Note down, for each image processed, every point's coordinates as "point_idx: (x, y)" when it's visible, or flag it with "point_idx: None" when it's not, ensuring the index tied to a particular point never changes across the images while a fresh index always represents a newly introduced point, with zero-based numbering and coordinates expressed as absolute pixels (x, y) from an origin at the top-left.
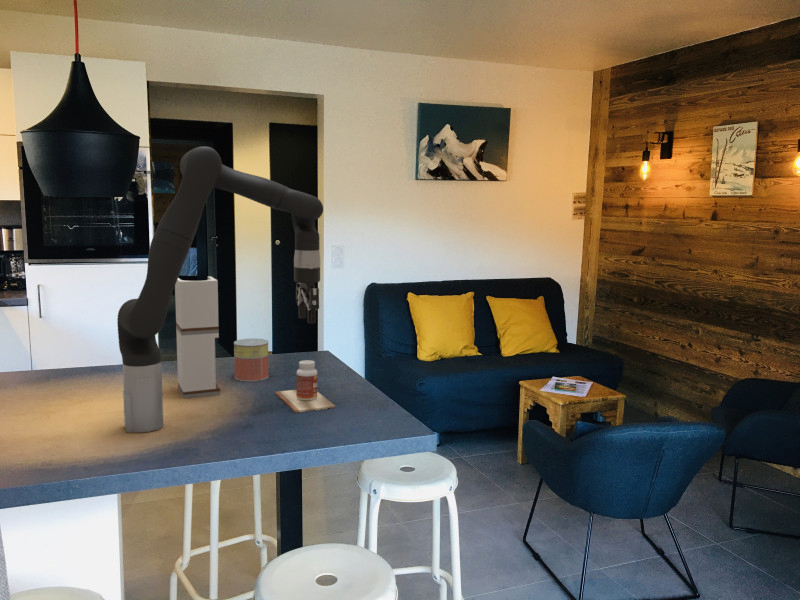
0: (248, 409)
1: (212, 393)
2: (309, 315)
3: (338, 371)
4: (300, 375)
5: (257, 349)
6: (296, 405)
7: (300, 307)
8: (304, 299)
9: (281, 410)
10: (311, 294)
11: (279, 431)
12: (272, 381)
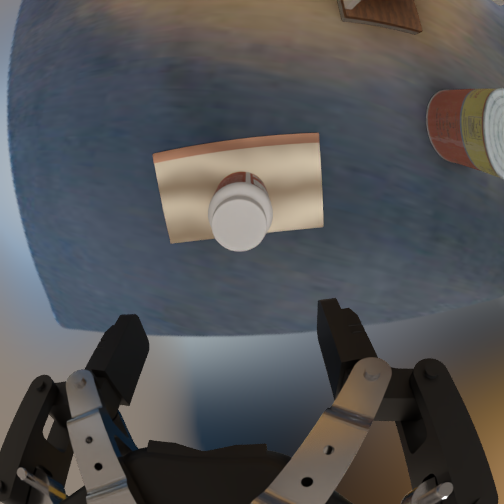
0: (208, 57)
1: (340, 6)
2: (106, 350)
3: (416, 301)
4: (218, 190)
5: (477, 133)
6: (190, 162)
7: (336, 361)
8: (94, 440)
9: (179, 126)
10: (1, 459)
11: (68, 121)
12: (413, 155)
